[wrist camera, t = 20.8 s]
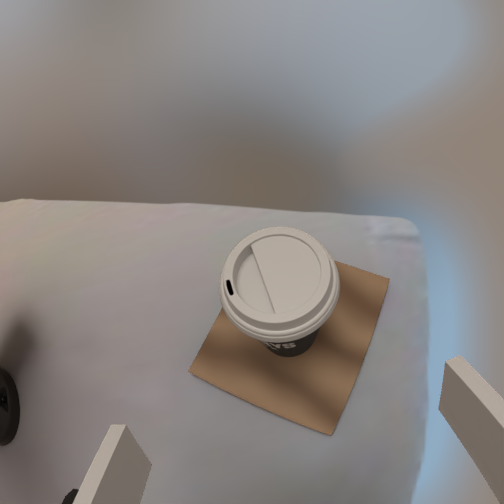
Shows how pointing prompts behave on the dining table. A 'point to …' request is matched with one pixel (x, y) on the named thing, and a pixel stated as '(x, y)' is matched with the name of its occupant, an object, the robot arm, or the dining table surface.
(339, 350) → the wooden board
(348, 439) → the dining table surface
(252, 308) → the coffee cup
